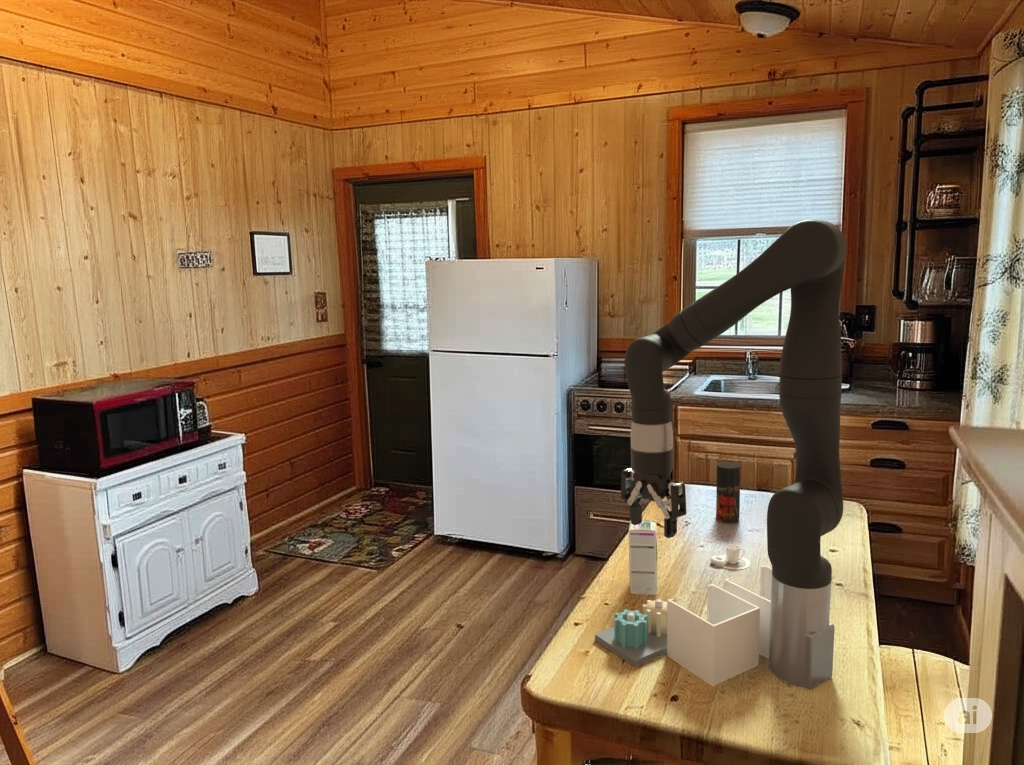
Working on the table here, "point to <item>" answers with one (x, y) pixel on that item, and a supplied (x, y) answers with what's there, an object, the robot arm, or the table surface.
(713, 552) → the table surface
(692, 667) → the white folded wall panels
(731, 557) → the teacup and saucer
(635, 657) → the board
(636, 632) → the gear
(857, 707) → the table surface
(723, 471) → the deodorant
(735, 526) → the table surface
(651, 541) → the syrup box
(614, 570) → the table surface
